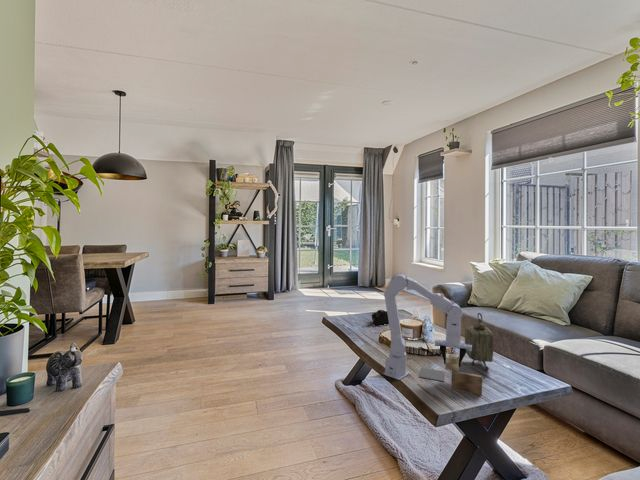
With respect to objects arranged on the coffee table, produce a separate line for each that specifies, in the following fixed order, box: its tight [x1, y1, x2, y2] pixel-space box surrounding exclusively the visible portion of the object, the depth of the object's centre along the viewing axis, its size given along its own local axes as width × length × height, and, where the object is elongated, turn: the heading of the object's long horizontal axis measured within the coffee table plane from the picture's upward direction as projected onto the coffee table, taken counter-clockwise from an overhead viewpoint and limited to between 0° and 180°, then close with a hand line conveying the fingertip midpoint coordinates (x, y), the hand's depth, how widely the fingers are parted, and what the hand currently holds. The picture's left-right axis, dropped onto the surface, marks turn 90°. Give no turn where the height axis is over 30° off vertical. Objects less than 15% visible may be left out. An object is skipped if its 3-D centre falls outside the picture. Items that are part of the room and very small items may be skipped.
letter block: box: [445, 352, 460, 372], centre depth 138 cm, size 5×5×5 cm
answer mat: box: [419, 367, 446, 383], centre depth 144 cm, size 10×10×1 cm
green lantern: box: [464, 312, 494, 371], centre depth 155 cm, size 14×9×25 cm, turn 168°
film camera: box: [371, 309, 389, 327], centre depth 221 cm, size 18×12×10 cm
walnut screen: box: [450, 370, 483, 396], centre depth 129 cm, size 11×2×7 cm, turn 67°
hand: (452, 364), depth 138 cm, fingers closed on letter block, 5 cm apart
